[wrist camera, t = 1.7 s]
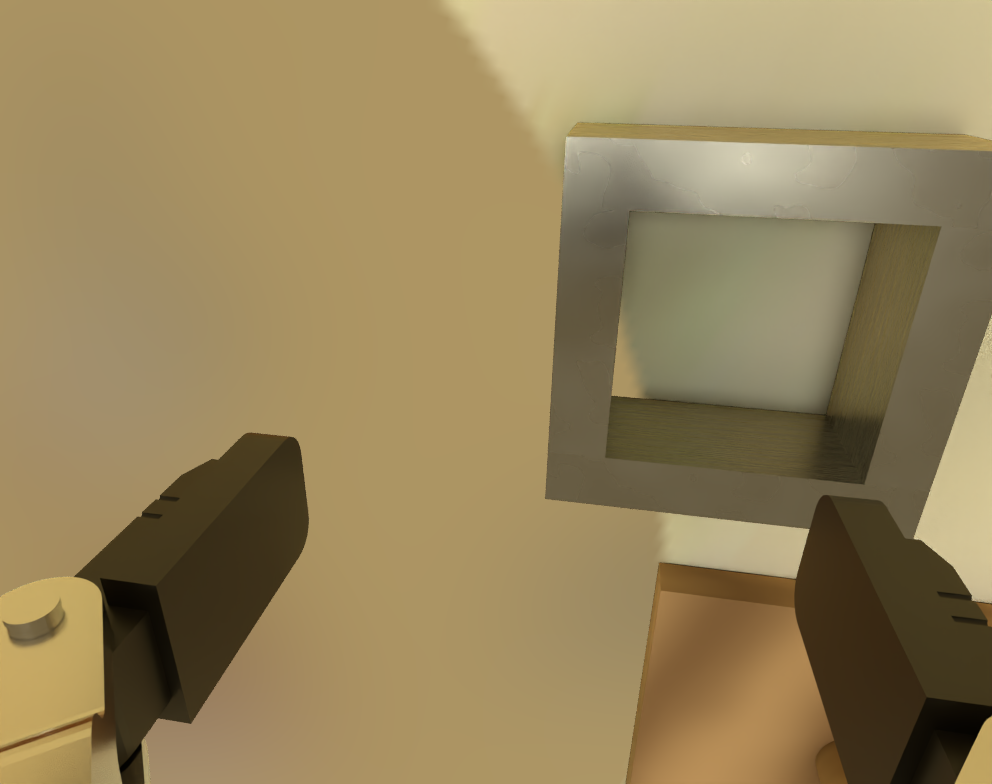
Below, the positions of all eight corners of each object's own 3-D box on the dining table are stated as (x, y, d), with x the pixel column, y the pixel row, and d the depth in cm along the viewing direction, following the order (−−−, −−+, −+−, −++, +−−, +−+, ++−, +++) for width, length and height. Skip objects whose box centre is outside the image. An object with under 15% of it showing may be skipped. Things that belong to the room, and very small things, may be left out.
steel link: (964, 134, 18) (1048, 153, 14) (867, 463, 22) (912, 540, 19) (578, 122, 19) (566, 136, 16) (558, 433, 24) (545, 498, 20)
